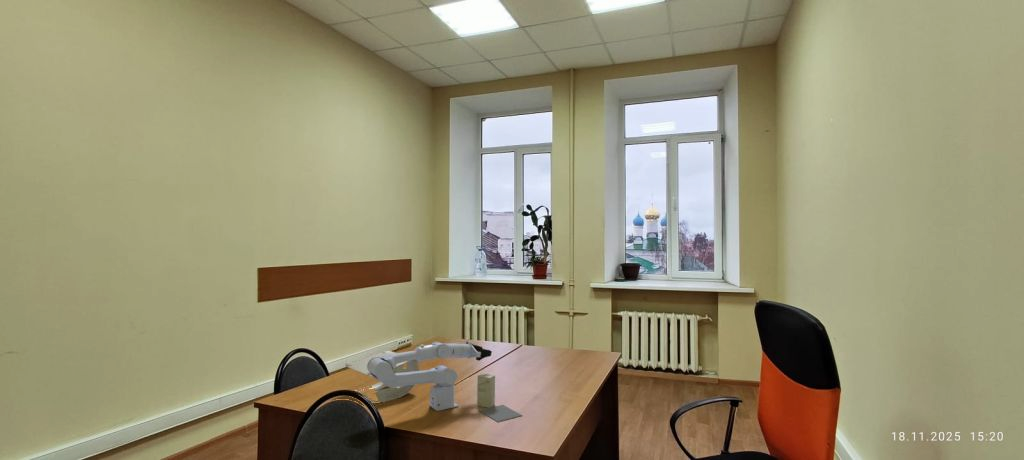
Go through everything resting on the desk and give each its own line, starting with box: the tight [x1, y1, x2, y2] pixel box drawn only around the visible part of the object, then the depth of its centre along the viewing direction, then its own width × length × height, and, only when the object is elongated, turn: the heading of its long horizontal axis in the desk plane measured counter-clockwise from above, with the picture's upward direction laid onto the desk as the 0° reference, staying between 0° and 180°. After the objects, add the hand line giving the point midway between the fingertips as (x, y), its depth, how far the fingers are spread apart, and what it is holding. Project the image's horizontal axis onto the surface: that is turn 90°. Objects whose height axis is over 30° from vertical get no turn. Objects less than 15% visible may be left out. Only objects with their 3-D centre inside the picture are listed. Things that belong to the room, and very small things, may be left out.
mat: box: [479, 404, 523, 423], centre depth 179 cm, size 11×14×1 cm
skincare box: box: [476, 372, 496, 409], centre depth 188 cm, size 6×4×12 cm
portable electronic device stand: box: [345, 350, 420, 403], centre depth 206 cm, size 26×24×16 cm
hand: (486, 351), depth 200 cm, fingers open, 7 cm apart
